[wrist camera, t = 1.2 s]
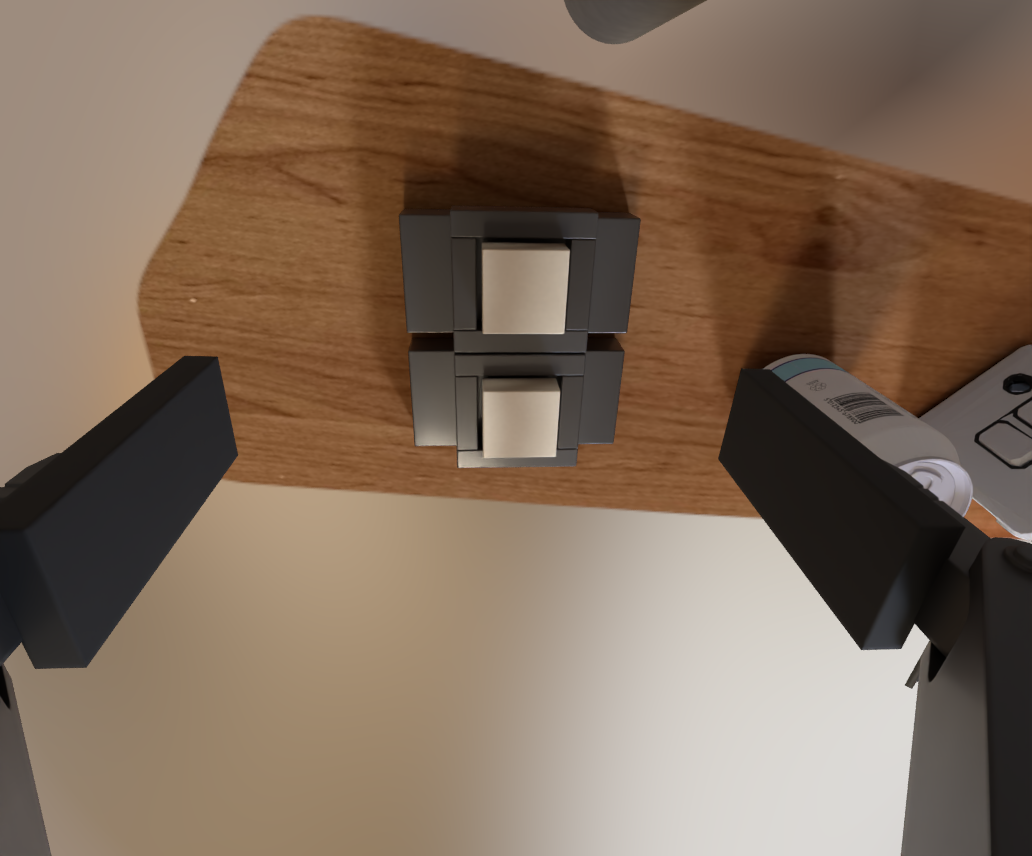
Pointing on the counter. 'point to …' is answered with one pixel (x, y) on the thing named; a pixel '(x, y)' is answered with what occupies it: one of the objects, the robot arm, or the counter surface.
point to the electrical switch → (995, 438)
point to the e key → (520, 417)
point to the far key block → (458, 377)
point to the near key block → (461, 230)
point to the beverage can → (880, 426)
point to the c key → (524, 287)
